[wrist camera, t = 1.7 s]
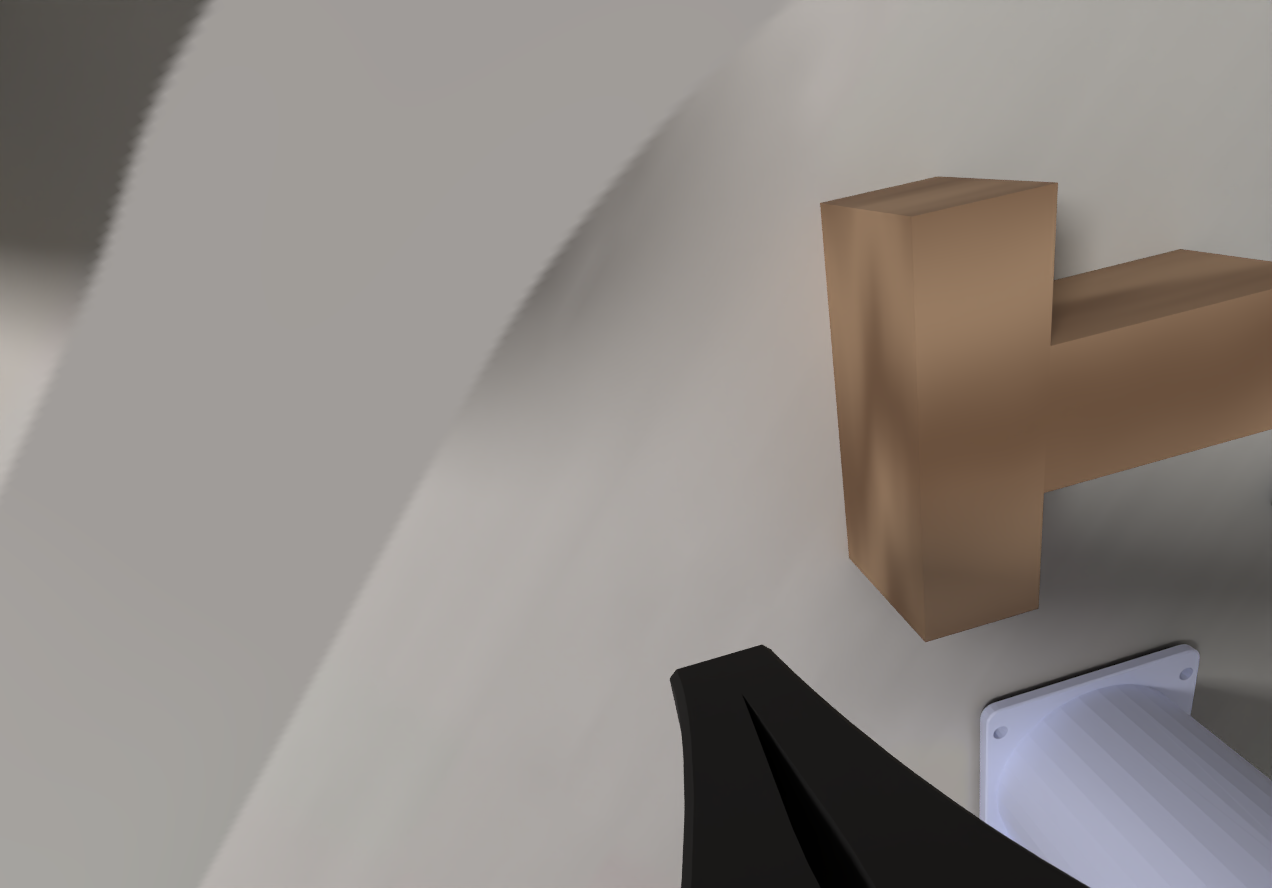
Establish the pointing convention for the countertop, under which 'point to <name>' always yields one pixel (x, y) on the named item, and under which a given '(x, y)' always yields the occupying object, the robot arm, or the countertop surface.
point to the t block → (1013, 381)
